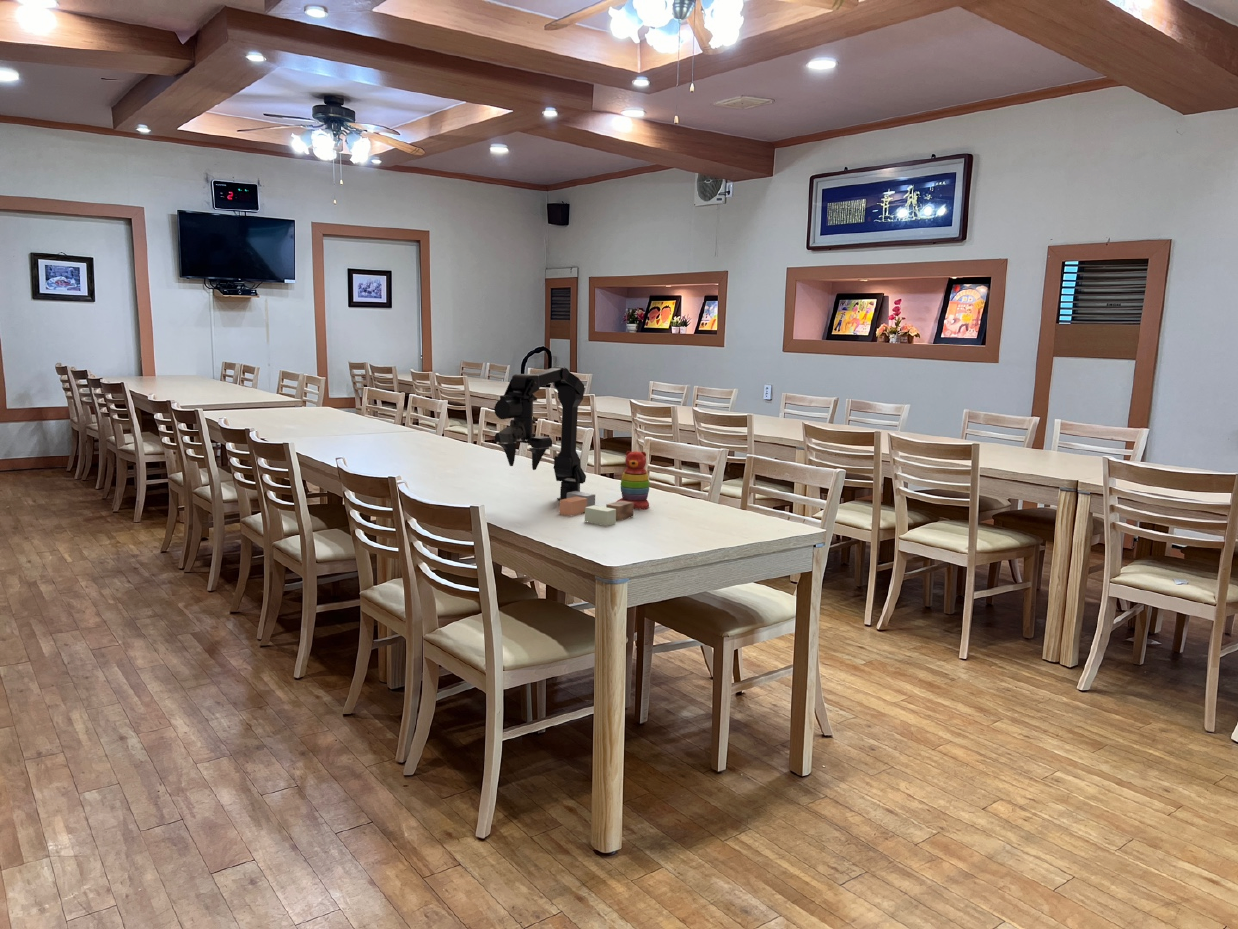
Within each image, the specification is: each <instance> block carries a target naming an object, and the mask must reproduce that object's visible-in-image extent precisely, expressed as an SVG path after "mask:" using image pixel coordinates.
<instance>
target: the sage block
mask: <svg viewBox="0 0 1238 929" xmlns="http://www.w3.org/2000/svg"><path fill="white" fill-rule="evenodd" d="M585 521H588V522H592V523H591V524H593V523H596V524H595V525H598V524H601V525H600V526H603V525H606V526H605V527H608V525H609V526H612V525H611V524H613V525H615V524H614V523H616V522H617V520H616V509H612V508H607V507H606V506H600V505H596V504H595V505H593V506H589V507H585V513H584V522H585ZM588 522H587V523H588Z"/></svg>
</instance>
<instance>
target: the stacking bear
mask: <svg viewBox="0 0 1238 929" xmlns="http://www.w3.org/2000/svg"><path fill="white" fill-rule="evenodd" d="M625 456H626V457H625V465H626V468H625V469H624V471H623V473H622V476H621V480H620V491H621V497H622V498H619V499H617V500H616V501H615V502H618V501H627V502H633V503H634V508H633V509H636V510H647V509H649V508H650V503H649V500H648V496H649V492H650V480H649V474H648V472H647V469H645V466H646V464H647V457H646V456H647V453H646V452H645V451H630V450H627V451H626V453H625Z"/></svg>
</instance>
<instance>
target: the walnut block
mask: <svg viewBox="0 0 1238 929" xmlns="http://www.w3.org/2000/svg"><path fill="white" fill-rule="evenodd" d="M617 501H618V500H617ZM605 507H607V508H612V509H616V522H617V521H618V522H619V521H622V519H623V520H625V519H626V520H627V519H630V518H633V517H634V509H635V508H634V503H633V502H627V501H618V502H616V501H615V502H611V503H607V504H606V505H605ZM632 516H633V517H632ZM629 517H630V518H629Z"/></svg>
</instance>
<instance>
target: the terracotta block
mask: <svg viewBox="0 0 1238 929" xmlns="http://www.w3.org/2000/svg"><path fill="white" fill-rule="evenodd" d="M558 506H559V508H558V509H559V512H558V514H559V513H560V514H559V515H562V514H564V516H567V515H574V516H577V514H578V515H581V514H580V513H582V514H584V513H583V512H585V507H587V498H581V497H571V498H567V499H562V500H559V505H558Z"/></svg>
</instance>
